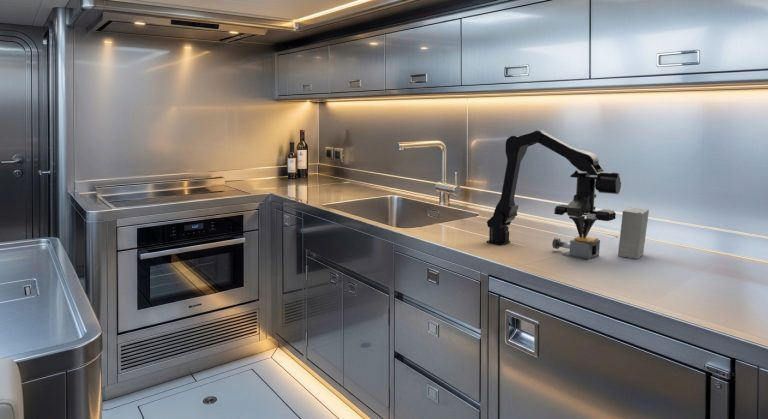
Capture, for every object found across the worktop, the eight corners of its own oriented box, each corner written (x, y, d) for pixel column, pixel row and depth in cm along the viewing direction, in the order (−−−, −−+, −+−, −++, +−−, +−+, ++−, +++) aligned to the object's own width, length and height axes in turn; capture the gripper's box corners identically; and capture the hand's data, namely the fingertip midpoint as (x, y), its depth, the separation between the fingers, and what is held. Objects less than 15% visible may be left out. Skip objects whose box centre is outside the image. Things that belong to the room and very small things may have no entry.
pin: (552, 249, 185) (552, 238, 184) (557, 247, 187) (557, 237, 187) (583, 255, 177) (584, 244, 176) (588, 253, 179) (589, 242, 179)
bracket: (562, 255, 180) (563, 236, 179) (573, 250, 185) (574, 233, 184) (588, 260, 174) (589, 241, 173) (599, 255, 179) (600, 237, 178)
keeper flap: (574, 239, 178) (574, 237, 178) (580, 237, 181) (580, 235, 181) (591, 242, 174) (591, 240, 174) (597, 240, 177) (597, 238, 177)
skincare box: (623, 251, 185) (627, 206, 182) (646, 254, 180) (650, 208, 177) (616, 256, 178) (620, 209, 175) (639, 259, 174) (643, 212, 171)
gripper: (547, 191, 177) (544, 237, 179) (602, 197, 163) (599, 246, 166) (563, 188, 184) (561, 232, 187) (617, 193, 171) (614, 240, 174)
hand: (582, 237), depth 178 cm, fingers closed, pressing on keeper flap
